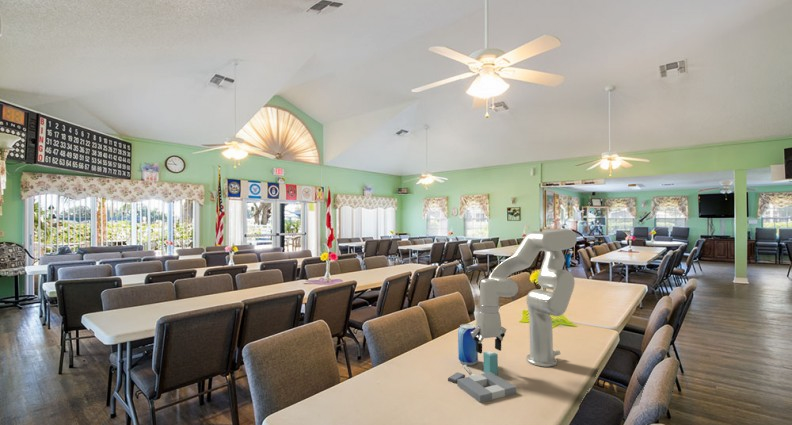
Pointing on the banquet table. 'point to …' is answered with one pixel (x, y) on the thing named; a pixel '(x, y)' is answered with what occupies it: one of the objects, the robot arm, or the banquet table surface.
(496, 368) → the block
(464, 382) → the socket plate
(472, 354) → the beer can
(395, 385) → the banquet table surface
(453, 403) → the banquet table surface
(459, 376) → the phone
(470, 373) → the cable
